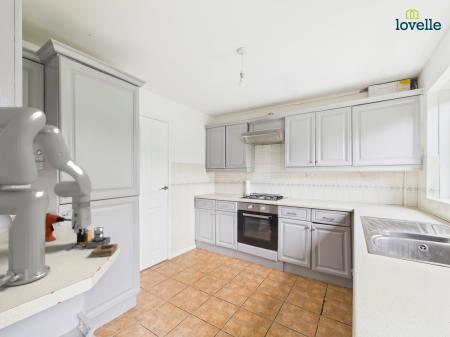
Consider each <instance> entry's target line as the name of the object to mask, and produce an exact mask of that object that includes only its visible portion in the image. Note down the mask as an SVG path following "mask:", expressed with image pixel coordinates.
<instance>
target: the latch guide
mask: <svg viewBox="0 0 450 337" xmlns="http://www.w3.org/2000/svg"><path fill="white" fill-rule="evenodd" d="M93 238H94V237H91V240H92V239H93ZM78 245H79V243H77V241H76V242H75V243H73V244H72V245H70V246H69V247H67V251H68V252H69V251H71V250H73V249H74V248H76V247H77V246H78ZM81 248H82V249H81V250H82V251H83V250H85V249H86V245H82V247H81Z"/></svg>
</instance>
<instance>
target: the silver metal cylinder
mask: <svg viewBox="0 0 450 337" xmlns="http://www.w3.org/2000/svg"><path fill="white" fill-rule="evenodd" d="M103 237H104V227H103V226H97V227H95V228H94V229H93V238H94V242H102V241H103Z"/></svg>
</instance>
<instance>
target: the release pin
mask: <svg viewBox="0 0 450 337" xmlns="http://www.w3.org/2000/svg"><path fill="white" fill-rule="evenodd" d="M91 238H92V230H89V229H88V228H86V233H85V241H84V242H80V243H79V244H78V245H79V246H85V245H86V243H87V242H89V241H90V240H91Z"/></svg>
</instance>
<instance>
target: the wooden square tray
mask: <svg viewBox="0 0 450 337" xmlns="http://www.w3.org/2000/svg"><path fill="white" fill-rule="evenodd" d="M117 251H118V243H112V244H110V243H109V244H108V245H99V246H98V247H97V248H93V250H92V251H91V258H99V257H101V258H102V257H112V256H113V255H114V253H115V252H117Z"/></svg>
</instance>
